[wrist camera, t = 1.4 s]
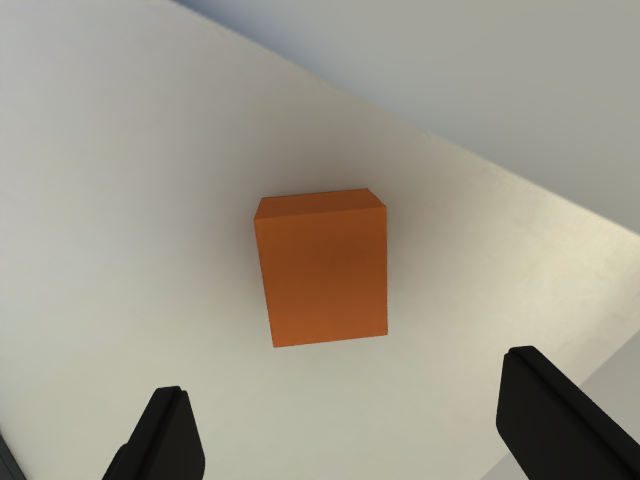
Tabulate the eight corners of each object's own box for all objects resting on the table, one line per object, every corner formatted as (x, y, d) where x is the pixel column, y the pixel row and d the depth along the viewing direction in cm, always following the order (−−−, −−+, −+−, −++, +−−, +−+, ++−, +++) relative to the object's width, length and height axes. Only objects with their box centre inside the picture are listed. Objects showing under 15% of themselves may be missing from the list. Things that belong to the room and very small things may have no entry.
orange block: (261, 198, 18) (253, 219, 15) (368, 188, 19) (386, 206, 15) (277, 307, 21) (273, 348, 17) (371, 296, 21) (387, 335, 17)
